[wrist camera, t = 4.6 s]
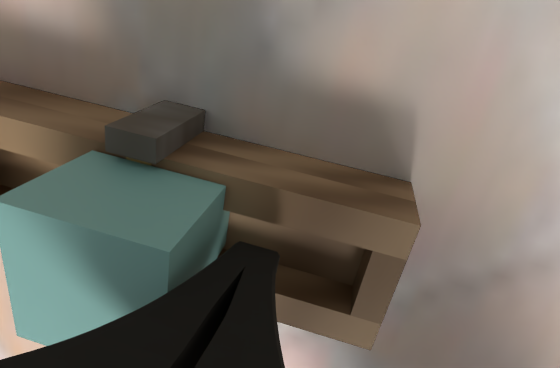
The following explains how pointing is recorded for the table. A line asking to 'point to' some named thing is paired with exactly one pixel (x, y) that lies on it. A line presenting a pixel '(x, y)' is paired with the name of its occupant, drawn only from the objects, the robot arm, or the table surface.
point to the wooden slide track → (243, 200)
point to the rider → (103, 242)
